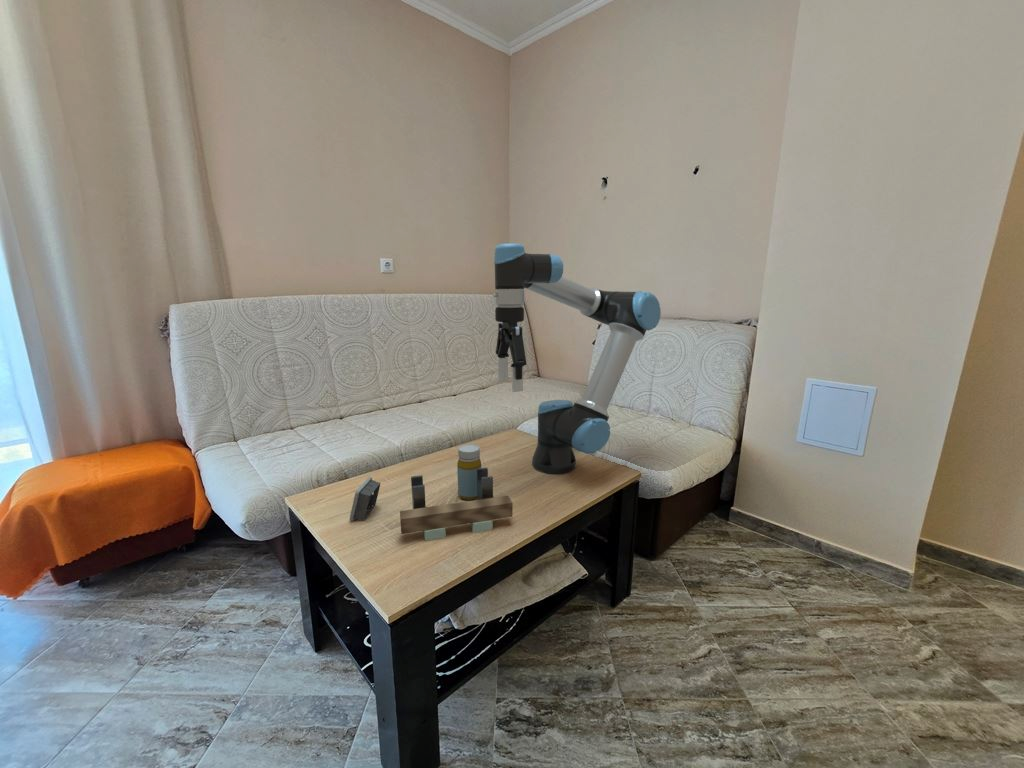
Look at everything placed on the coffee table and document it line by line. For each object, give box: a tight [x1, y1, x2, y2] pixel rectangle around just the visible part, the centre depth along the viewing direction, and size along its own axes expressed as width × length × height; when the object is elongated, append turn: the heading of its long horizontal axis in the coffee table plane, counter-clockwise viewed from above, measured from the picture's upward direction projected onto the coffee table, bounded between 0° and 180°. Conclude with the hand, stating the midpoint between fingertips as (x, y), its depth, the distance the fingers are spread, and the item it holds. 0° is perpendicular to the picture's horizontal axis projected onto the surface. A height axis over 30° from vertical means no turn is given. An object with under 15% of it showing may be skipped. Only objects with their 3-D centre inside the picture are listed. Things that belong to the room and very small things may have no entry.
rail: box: [399, 495, 514, 535], centre depth 106 cm, size 28×4×4 cm, turn 107°
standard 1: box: [410, 474, 427, 509], centre depth 110 cm, size 5×8×11 cm, turn 17°
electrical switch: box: [349, 476, 381, 522], centre depth 114 cm, size 9×5×9 cm, turn 176°
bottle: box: [456, 444, 482, 501], centre depth 123 cm, size 7×7×15 cm
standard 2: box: [476, 467, 494, 500], centre depth 115 cm, size 5×8×11 cm, turn 17°
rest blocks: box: [423, 520, 494, 542], centre depth 106 cm, size 17×5×2 cm, turn 107°
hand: (509, 385), depth 113 cm, fingers open, 13 cm apart
